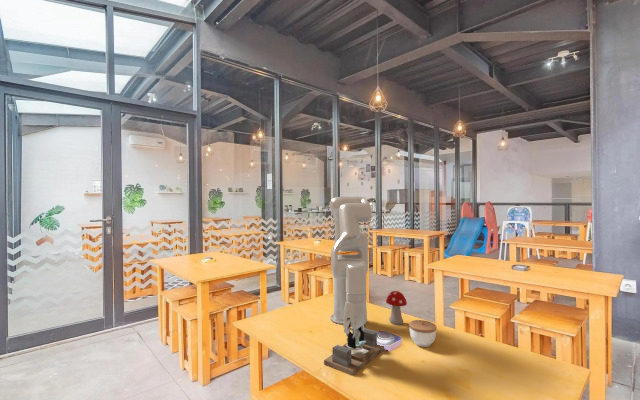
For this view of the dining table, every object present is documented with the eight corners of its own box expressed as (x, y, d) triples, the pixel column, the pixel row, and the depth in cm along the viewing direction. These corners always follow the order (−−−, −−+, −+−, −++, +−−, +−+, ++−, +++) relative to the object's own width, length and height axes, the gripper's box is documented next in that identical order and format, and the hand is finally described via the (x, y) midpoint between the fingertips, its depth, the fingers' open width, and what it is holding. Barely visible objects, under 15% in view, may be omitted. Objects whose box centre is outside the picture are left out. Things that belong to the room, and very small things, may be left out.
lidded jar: (404, 343, 136) (404, 321, 136) (416, 335, 144) (416, 314, 144) (429, 352, 129) (429, 328, 129) (440, 343, 137) (441, 320, 136)
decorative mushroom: (382, 322, 158) (382, 291, 158) (391, 317, 165) (391, 287, 165) (401, 328, 152) (401, 295, 152) (409, 322, 158) (410, 291, 158)
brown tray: (358, 340, 139) (358, 325, 138) (384, 349, 131) (384, 332, 131) (324, 364, 119) (324, 346, 119) (352, 375, 112) (352, 356, 112)
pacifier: (362, 353, 120) (367, 345, 126) (362, 336, 120) (367, 329, 125) (343, 348, 124) (349, 341, 129) (343, 332, 123) (348, 326, 129)
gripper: (359, 289, 134) (358, 334, 134) (334, 300, 120) (334, 350, 121) (375, 293, 129) (375, 339, 130) (352, 304, 116) (352, 356, 116)
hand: (355, 344), depth 125 cm, fingers closed on pacifier, 5 cm apart
